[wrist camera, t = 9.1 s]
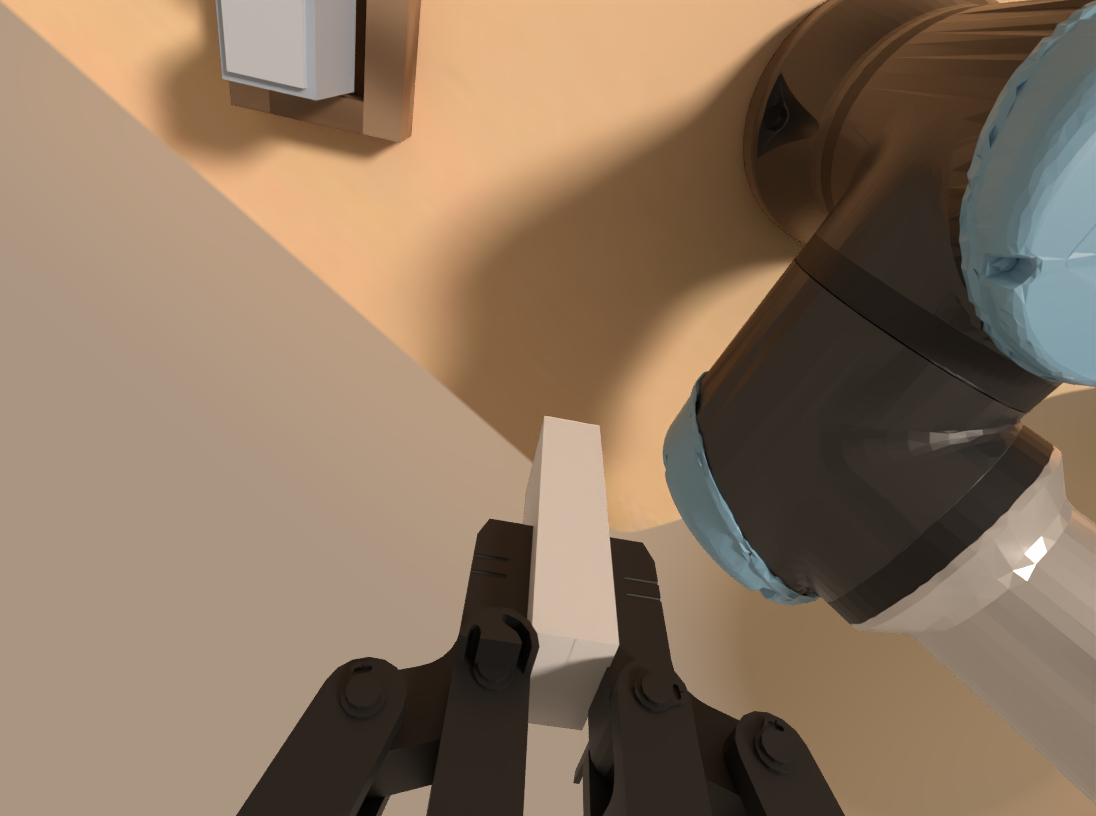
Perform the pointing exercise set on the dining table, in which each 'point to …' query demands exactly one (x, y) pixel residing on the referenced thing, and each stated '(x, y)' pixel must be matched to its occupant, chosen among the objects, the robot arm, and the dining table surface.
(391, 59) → the wooden tray
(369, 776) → the robot arm
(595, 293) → the dining table surface
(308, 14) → the slate button
